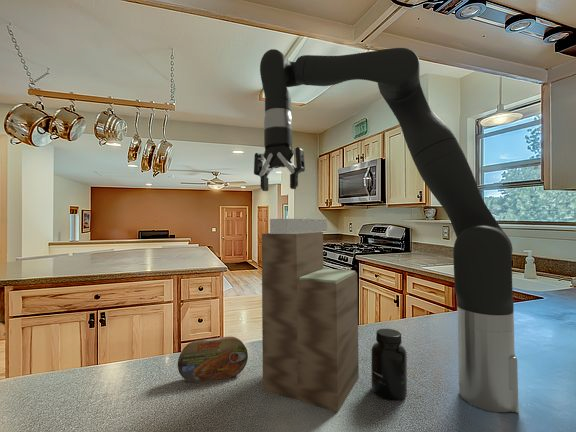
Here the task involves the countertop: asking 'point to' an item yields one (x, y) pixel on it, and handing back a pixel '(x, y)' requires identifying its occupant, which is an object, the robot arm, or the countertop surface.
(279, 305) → the walnut stand
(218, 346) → the tin
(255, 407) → the countertop surface
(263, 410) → the countertop surface
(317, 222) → the steel bar
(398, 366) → the supplement bottle
